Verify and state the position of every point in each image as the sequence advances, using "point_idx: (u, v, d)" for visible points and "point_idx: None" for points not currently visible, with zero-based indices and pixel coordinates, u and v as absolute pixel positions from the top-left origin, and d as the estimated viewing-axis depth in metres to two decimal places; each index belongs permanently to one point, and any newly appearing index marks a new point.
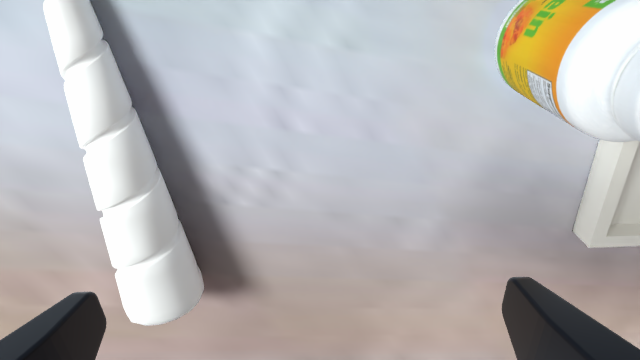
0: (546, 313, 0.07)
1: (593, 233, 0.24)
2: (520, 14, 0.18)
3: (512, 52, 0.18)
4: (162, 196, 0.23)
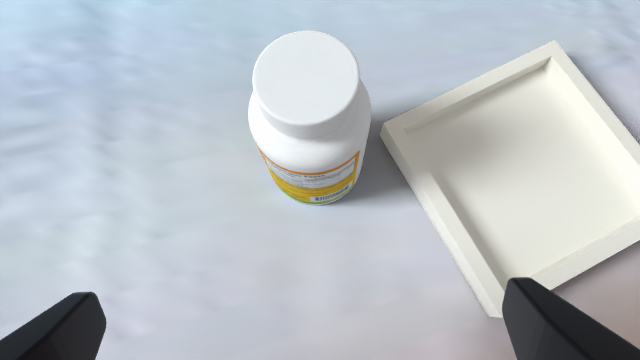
0: (546, 313, 0.07)
1: (489, 297, 0.20)
2: None
3: (269, 169, 0.21)
4: None
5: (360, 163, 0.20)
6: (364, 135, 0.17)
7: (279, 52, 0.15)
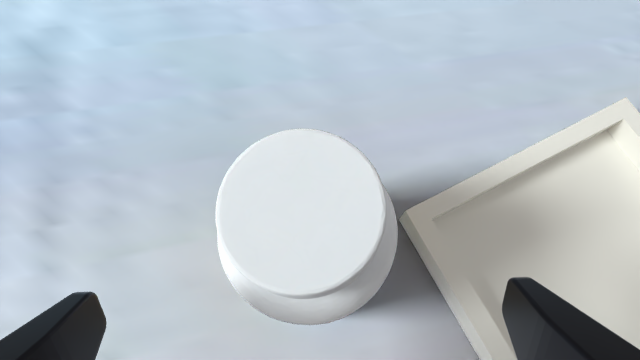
0: (546, 313, 0.07)
1: None
2: None
3: None
4: None
5: None
6: (388, 271, 0.11)
7: (258, 166, 0.10)
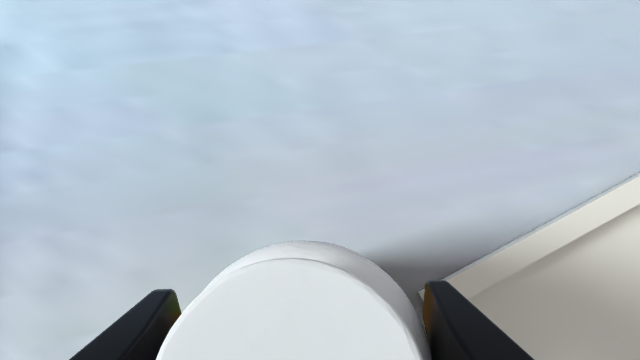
0: (448, 316, 0.07)
1: None
2: None
3: None
4: None
5: None
6: None
7: (218, 328, 0.06)
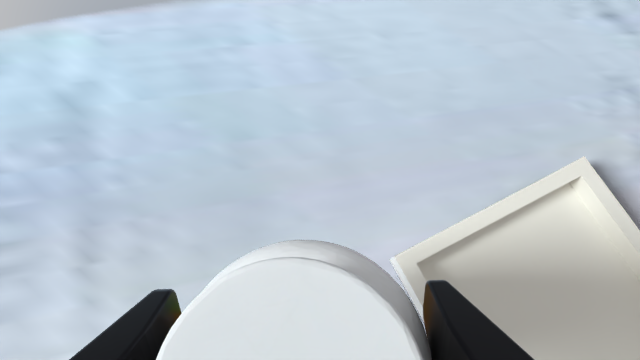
0: (448, 316, 0.07)
1: None
2: None
3: None
4: None
5: None
6: None
7: (218, 327, 0.06)
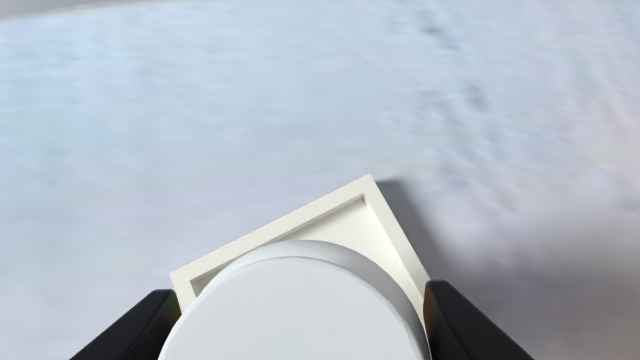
0: (448, 316, 0.07)
1: None
2: None
3: None
4: None
5: None
6: None
7: (221, 325, 0.06)
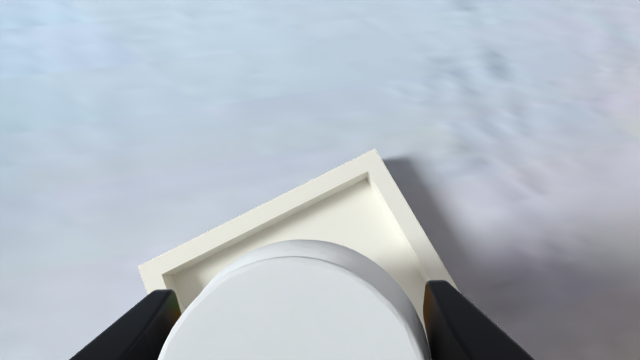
0: (448, 316, 0.07)
1: None
2: None
3: None
4: None
5: None
6: None
7: (221, 325, 0.06)
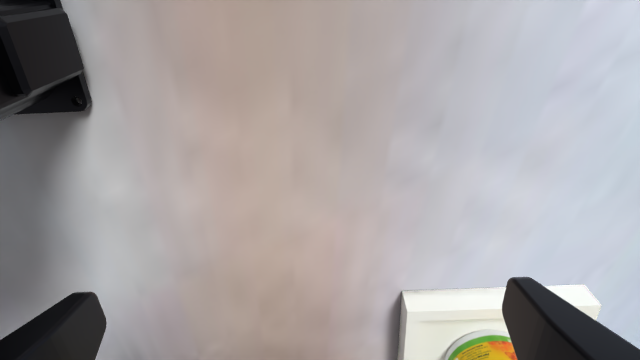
0: (546, 313, 0.07)
1: (424, 310, 0.24)
2: None
3: (503, 358, 0.24)
4: None
5: None
6: None
7: None
